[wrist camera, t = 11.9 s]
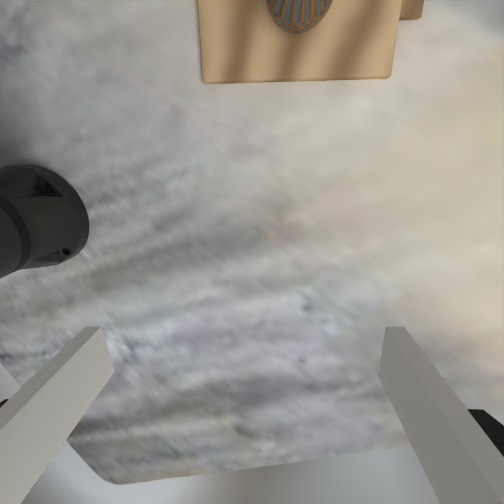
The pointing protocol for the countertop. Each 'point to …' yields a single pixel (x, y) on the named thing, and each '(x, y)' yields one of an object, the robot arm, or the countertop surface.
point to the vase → (297, 14)
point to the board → (300, 42)
